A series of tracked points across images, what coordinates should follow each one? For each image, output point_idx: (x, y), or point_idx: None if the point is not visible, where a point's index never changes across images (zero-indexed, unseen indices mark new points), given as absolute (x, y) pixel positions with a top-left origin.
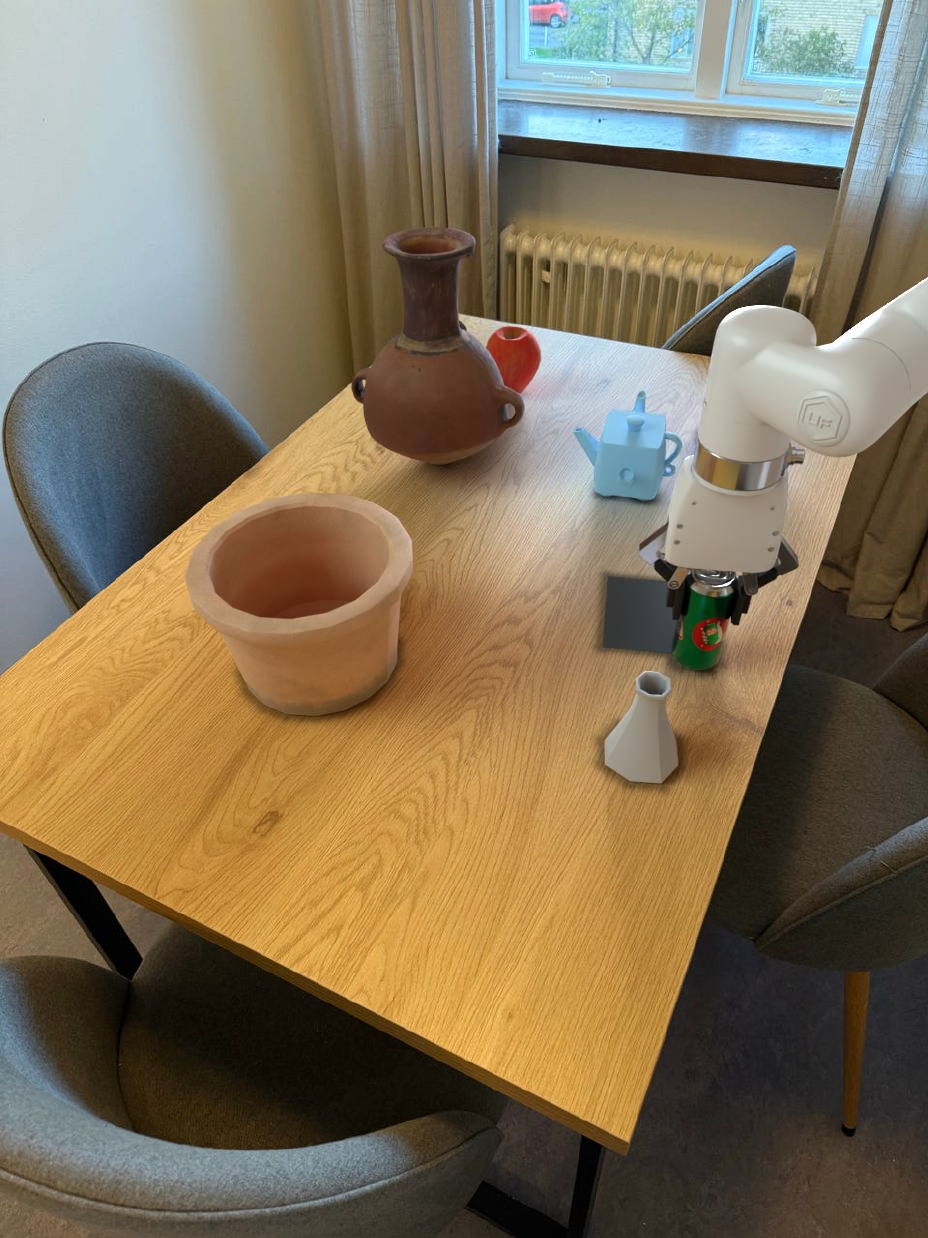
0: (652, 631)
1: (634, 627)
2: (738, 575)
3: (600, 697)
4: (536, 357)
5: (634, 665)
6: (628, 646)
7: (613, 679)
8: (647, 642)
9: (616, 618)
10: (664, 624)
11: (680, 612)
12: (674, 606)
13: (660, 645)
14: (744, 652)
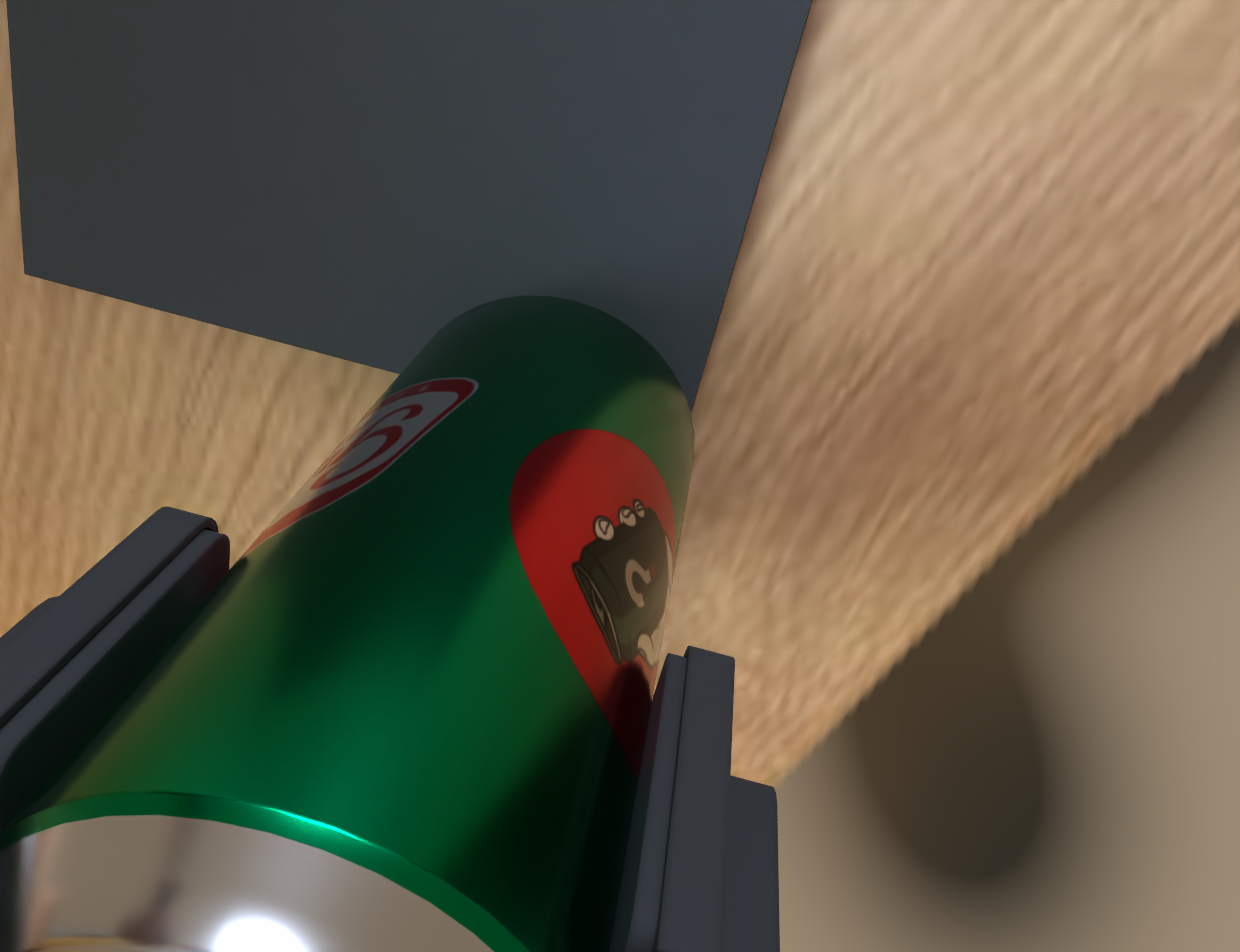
0: (326, 173)
1: (208, 121)
2: (659, 941)
3: (59, 592)
4: None
5: (216, 424)
6: (173, 292)
7: (111, 500)
8: (288, 271)
9: (85, 5)
10: (413, 113)
11: None
12: None
13: (365, 307)
14: (874, 413)
